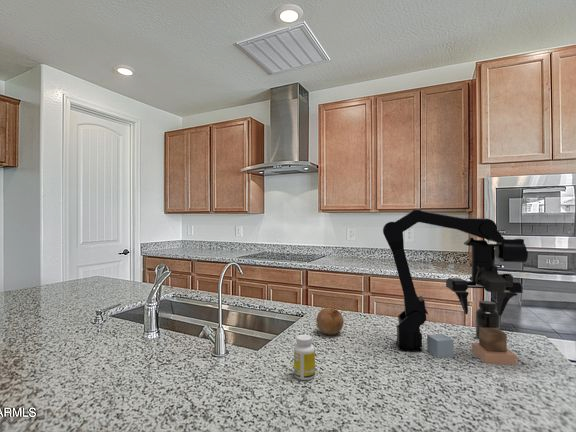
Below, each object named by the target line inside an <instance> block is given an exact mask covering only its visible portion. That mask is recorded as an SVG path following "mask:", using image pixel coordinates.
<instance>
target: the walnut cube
mask: <svg viewBox="0 0 576 432" xmlns="http://www.w3.org/2000/svg"><path fill="white" fill-rule="evenodd" d="M507 342H508V341H507V333H506V332H504V331H502V330H501V329H500V330H499V329H498V328H480V327H479V338H478V343H479V345H480V346H482V347H483V348H484V349H485V350H487V351H491V352H507V349H508V344H507Z"/></svg>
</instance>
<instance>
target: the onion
mask: <svg viewBox="0 0 576 432" xmlns="http://www.w3.org/2000/svg"><path fill="white" fill-rule="evenodd" d="M316 316H317V317H316V320H315V321H316V328H317V329H319V330H320V332H322V333H323V334H324V335H328V336H333V335H337V334H339V333H340V332H341V331H342V329H343V327H344V322H345V321H344V318H343V315H342V312H340V311H339V310H338V309H336V308H334V307H324V308H322V309H321V310H319V312H318V314H317V315H316Z"/></svg>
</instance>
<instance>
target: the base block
mask: <svg viewBox="0 0 576 432" xmlns="http://www.w3.org/2000/svg"><path fill="white" fill-rule="evenodd" d="M471 352H472V353H473V354H474V355H475V356H476V357H478V358H479V359H480V360H481V361H482V362H483V363H484V364H492V365H493V364H495V365H516V366H517V362H518V361H517V357H518V356H517V354H516V353H514V352H513V351H511V350H510V349H509V348H507V352H491V351H487V350H485V349H484V348H483V347H482V346H480V345H479V342H471Z"/></svg>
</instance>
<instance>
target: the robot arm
mask: <svg viewBox="0 0 576 432" xmlns="http://www.w3.org/2000/svg"><path fill="white" fill-rule="evenodd" d="M418 223H421V224H427V225H431V226H437V227H443V228H447V229H453V230H457V231H459V232H463V233H465V234H467V235H470V236H473V237H469V238H468V239H467V240H466V241H465V242H464V243H463V245H465V246H469V247H471V262H469V267H471V276H469V280H470V281H468V280H465V279H463V278H460V277H458V278H457V277H448V278H447V279H446V280H445V287H446V288H447V289H449V290H450V291H452V292H454V293H455V295H456V297H457V298H458V301H459V303H460V305H461V308H462V310H463V313H464V314H465V315H468V314H469V305H468V302H469V301H468V296H469V292H468V291H467V290H468V289H483V290H485V291H486V292H488V293H493V292H494V293H495V292H496V311H497V312H498V315H499V316H500V317H501V316H503V313H504V311H505V308H506V307H507V305H508V303H509V301H510V299H512V298H513V297H514V296H515V297H516V296H518V294H523V292H524V291H523V290H524V288H523V287H524V286H523V284H522V283H521V282H519V281H516V280H514V276H513V275H512V274H511V273H499V271H498V266H497V265H495V264H496V263H495V258H496V259H498V261H500V263H514V264H515V263H516V264H517V263H519V264H524V263H526V262H527V260H528V256H529V252H528V250H527V245H526V244H525V239H524V238H504V236H503V235H502V234H501V233H500V232H499V231H498V226H497V224H496V223H495V221H494V220H492V219H490V218H478V217H477V218H476V217H474V218H473V217H469V218H468V217H457V216H452V215H446V214H441V213H436V212H431V211H425V210H421V209H418V208H417V209H412V210H411V211H410V212H409V213H407V214H405V215H404V216H402V217H401V218H399V219H397V220H396V221H388V222H387V223H385V224H384V225H383V228H382V233H383V236H384V238H385V240H386V242H387V244H388V246H389V248H390V251H391V252H392V256H393V259H394V263H395V267H396V272H397V275H398V278H399V282H400V285H401V289H402V293H403V307H404V309H403V311H402V312H401V313H400V314H398V315H397V321H398V324H397V325H396V341H395V344H396V346H397V347H398V349H399V351H403V352H405V351H406V352H407V351H408V352H423V349H422V347H423V334H422V332H421V328H420V327H421V326H422V325H424V324H425V323H426V322H427V315H428V314H429V312H428V310H427V309H426V302H425V300H424V297H423V296H422V295H420V296H418V295H417V293H416V289H415V285H414V281H413V278H412V273H411V271H410V268H409V263H408V260H407V256H406V253H405V248H404V247H405V246H404V245H405V244H404V243H405V242H404V232H405V231H407V230H408V229H410V228H412V227H413V226H415V225H416V224H418ZM474 237H477V238H480V239H474ZM487 241H488V242H489V241H490V242H493V243H488V242H487Z"/></svg>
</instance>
